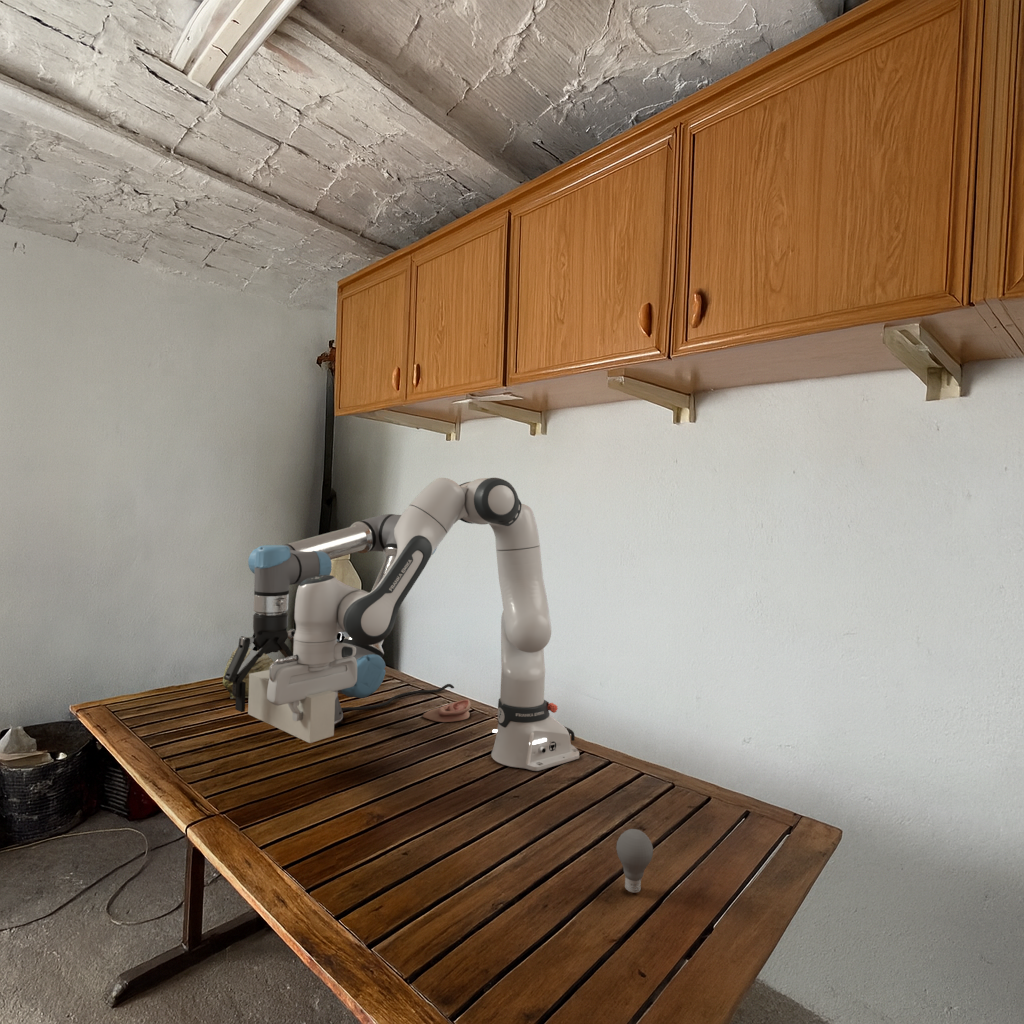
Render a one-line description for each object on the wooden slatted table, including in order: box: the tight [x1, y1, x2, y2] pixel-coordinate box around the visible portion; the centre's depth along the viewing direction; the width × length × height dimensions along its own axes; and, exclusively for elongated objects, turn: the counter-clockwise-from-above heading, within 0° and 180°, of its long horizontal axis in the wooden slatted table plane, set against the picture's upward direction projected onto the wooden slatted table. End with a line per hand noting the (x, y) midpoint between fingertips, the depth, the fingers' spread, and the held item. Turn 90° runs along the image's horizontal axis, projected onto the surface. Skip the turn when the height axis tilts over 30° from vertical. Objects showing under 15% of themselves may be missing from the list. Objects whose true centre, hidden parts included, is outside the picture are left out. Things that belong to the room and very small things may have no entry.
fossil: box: [222, 647, 275, 699], centre depth 198 cm, size 9×18×15 cm, turn 132°
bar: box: [247, 670, 335, 744], centre depth 141 cm, size 25×6×9 cm, turn 51°
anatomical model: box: [422, 699, 472, 723], centre depth 186 cm, size 13×4×12 cm
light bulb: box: [615, 828, 654, 894], centre depth 106 cm, size 6×6×10 cm
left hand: (268, 703), depth 147 cm, fingers open, 13 cm apart
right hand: (313, 715), depth 136 cm, fingers closed on bar, 6 cm apart
